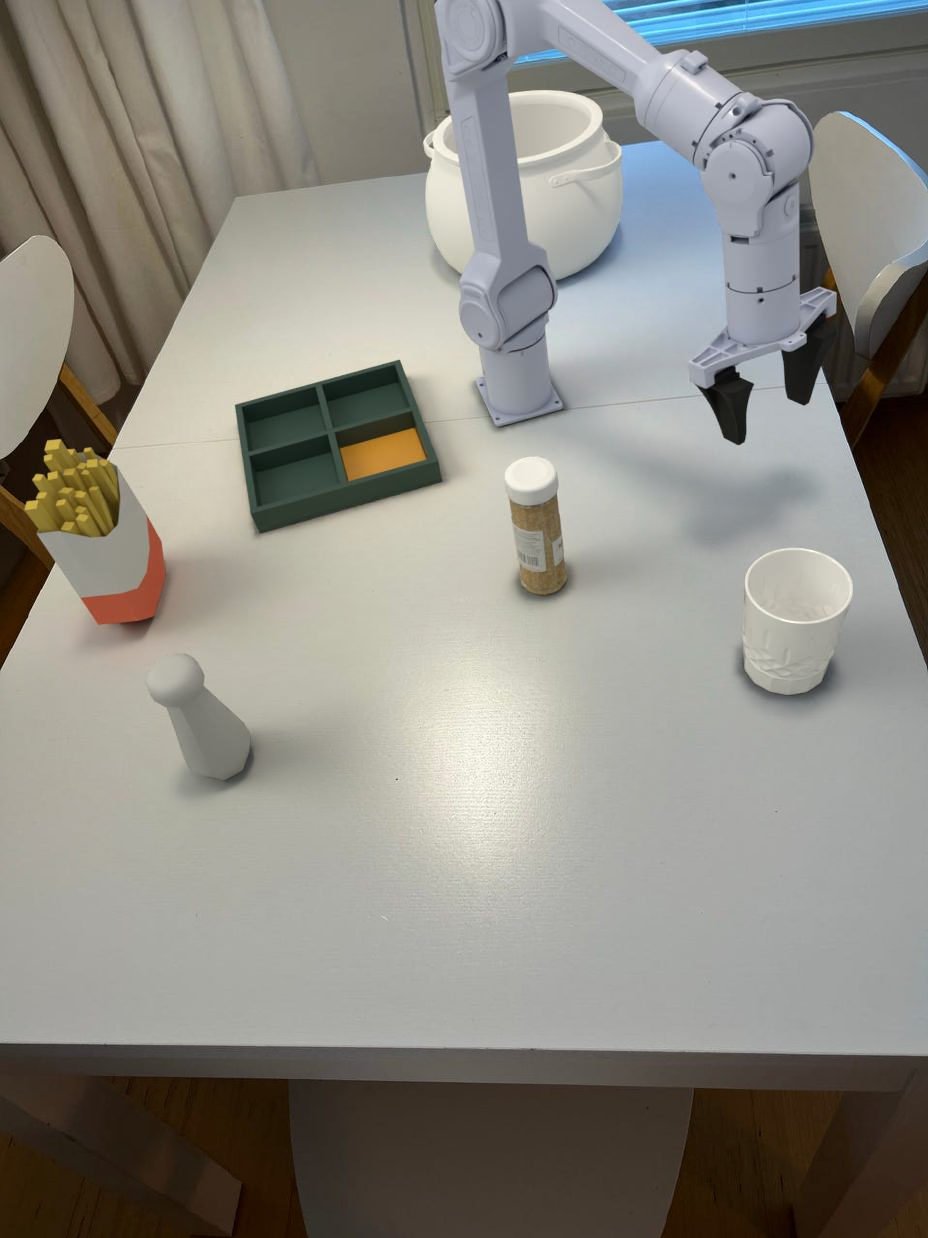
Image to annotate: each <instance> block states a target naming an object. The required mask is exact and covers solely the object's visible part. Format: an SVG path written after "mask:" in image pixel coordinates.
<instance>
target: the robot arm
mask: <svg viewBox="0 0 928 1238" xmlns="http://www.w3.org/2000/svg"><path fill="white" fill-rule="evenodd" d="M433 5H434V6H433V8H434V15H435V20H436V25H437V30H438V37H439V41H440V42H439V43H440V47H441V52H440V53H441V56H440V59H441V66H442V73H443V79H444V84H445V90H446V97H447V101H448V105H449V106H448V107H449V112H450V115H451V119H452V124H453V130H454V135H455V141H456V147H457V152H458V158H459V164H460V169H461V175H462V180H463V186H464V192H465V197H466V203H467V208H468V214H469V220H470V225H471V231H472V237H473V242H474V248H475V250H474V253H473V255H472V257H471V259H470V261H469V262H468V264H467V266H466V268H465V270H464V272H463V274H460V277H459V280H458V285H459V291H460V300H459V305H458V316H459V321H460V324H461V326H462V329H463V331H464V332H465V334H466V336H467V337H468V338H469V339H470V340H471V342H473V343H474V344H475V345H477V346H478V351H479V358H480V365H481V370H482V377H478V378H476V379H475V385H476V387H477V389H478V391H479V394H480V396H481V398H482V400H483V402H484V404H485V406H486V408H487V411H488V412H489V415H490V417H491V419H492V421H493V423H494V426H496V427H504V426H508V425H510V424H513V423H517V422H521V421H524V420H528V419H531V418H535V417H538V416H541V415H546V414H548V413H553V412H556V411H560V410H562V409H563V408H564V404H563V402H562V400H561V399H560V396H559V394H558V393H557V392H556V389H555V388H554V385H553V384H552V382H551V376H550V366H549V355H548V343H547V333H546V325H547V324H548V323H549V322H550V314H549V311H551V310H552V309H553V308H554V307H555V306H556V304H557V302H558V297H559V289H558V285H557V280H555V278H554V276H553V274H552V272H551V270H550V268H549V264H548V260H547V252H546V250H545V249H543V248H542V247H541V246H539V245H537V244H535V243H533V242H531V241H528V236H527V228H526V221H525V213H524V206H523V198H522V191H521V183H520V176H519V169H518V161H517V154H516V146H515V139H514V131H513V124H512V116H511V109H510V101H509V88H508V80H507V75H508V73H509V71H510V70H511V68H512V67H513V66H514V64H515V63H516V62H517V61H518V60H519V58H520V57H523V56H529V55H534V54H537V53H542V52H546V51H552V50H556V51H558V52H560V53H561V54H563V55H564V56H566V57H567V58H569V59H571V60H573V61H574V62H576V63H577V64H579V65H581V66H582V67H584V68H585V69H586V70H588V71H590V72H592V73H593V74H595V76H598V77H599V78H601V79H602V80H605V81H606V82H607V83H609V84H610V85H612V86H613V87H615V88H616V89H618V90H620V91H622V92H623V93H625V94H626V95H628V96H629V97H631V98H632V99H633V101H634V102H633V103H634V109H635V110H634V111H635V116H636V120H637V122H638V124H639V125H640V126H642V127H643V128H644V129H645V130H646V131H648V132H650V134H652V135H654V136H655V137H656V138H657V139H659V140H660V141H661V142H662V143H664V144H665V145H666V146H668V147H669V148H670V149H672V150H673V151H674V152H676V153H677V154H678V155H680V156H681V157H682V158H683V159H685V160H686V161H688V162H689V164H691V165H693V166H694V167H695V168H696V169H698V170H699V171H700V173H699V175H700V180H701V184H702V188H703V190H704V192H705V194H706V196H707V197H708V199H709V200H710V203H712V204H713V206H714V208H715V212H716V221H717V227H719V228H720V231H721V240H722V241H721V242H722V243H721V244H722V258H723V270H724V272H723V273H724V274H723V275H724V290H725V292H724V293H725V294H724V295H725V308H726V326H725V327H724V328H723V329H722V330H721V332H718V335H716V337H714V338H713V340H711V342H710V343H709V344H708V345H707V346H706V347H705V348H704V349H703V350H702V351H701V352H700V353H699V354H697V355H696V356H695V357H693V358H691V359H690V360H688V362H687V365H688V372H689V373H688V375H689V382H691V383H692V384H694V385H695V386H696V387H697V389H698V390H699V391H700V392H701V394H702V395H703V397H704V398H705V400H706V401H707V403H708V404H709V406H710V408H711V410H712V412H713V414H714V415H715V418H716V420H717V423H718V426H719V428H720V431H721V434H722V437H723V439H725V440H727V441H729V442H730V443H732V444H734V445H736V446H741V445H743V444H744V443H745V442H746V439H747V431H748V430H747V429H748V428H747V415H748V414H747V413H748V404H749V400H750V396H751V393H752V391H753V388H754V386H755V383H753V382H751V381H749V380H747V379H745V378H742V377H741V373H740V371H737V366H738V365H740V364H741V363H744V362H748V361H750V360H753V359H756V358H759V357H762V356H765V355H768V354H771V353H775V352H778V351H780V352H781V358H782V363H783V378H784V379H783V380H784V389H785V394H786V398H787V399H788V400H789V401H792V402H794V403H796V404H799V405H801V406H803V407H805V406H807V405H808V404H810V401H811V399H812V395H813V392H814V389H815V385H816V382H817V378H818V376H819V373H820V371H821V367H822V365H823V363H824V361H825V360H826V359H825V358H826V357H827V355H828V353H829V351H830V350H831V348H832V347H833V345H834V344H835V342H836V341H837V340H838V338H839V326H838V324H836V323H834V322H831V321H829V320H827V318H830V317H832V316H834V315H835V314H837V298H838V297H837V295H838V294H837V292H836V291H834V290H831V289H828V288H825V287H821V286H817V287H815V288H814V289H811V290H810V291H807V292H805V293H802V294H801V292H800V291H801V290H800V289H801V288H800V286H801V285H800V276H801V275H800V267H801V266H800V181H799V180H797V179H798V178H799V177H800V176H801V175H802V174H803V173H804V172H805V171H806V169H808V167H809V165H810V164H811V162H812V160H813V156H814V154H815V147H816V140H815V132H814V130H813V127H812V124H811V122H810V120H809V119H808V117H807V115H806V114H805V113H804V112H803V111H802V110H801V109H800V108H799V107H798V106H797V104H795V102H793V100H789V99H785V98H773V99H768V100H765V99H762V98H761V97H759V96H755V95H754V94H752V93H751V92H749V91H746V92H745V91H743V89H741V88H740V87H739V86H737V85H735V84H734V83H732V81H730V80H728V79H727V78H726V77H725V76H723V75H722V74H721V73H719V72H718V71H716V70H715V69H713V68H712V67H710V66H709V65H708V63H709V58H708V57H707V56H706V55H704V54H703V53H702V52H700V51H699V50H697V49H695V50H693V51H692V52H690V51H689V50H687V49H685V48H682V49H676V50H674V51H671V52H669V53H661V52H660V51H659V50H657V48H655V47H654V46H653V45H652V44H651V43H650V42H649V41H647V40H646V39H645V38H644V37H643V36H642V35H640V33H638V31H636V30H635V29H634V28H633V27H631V26H630V25H629V24H628V23H627V22H626V21H625V20H624V19H623V18H621V17H620V16H619V15H618V14H617V13H615V12H614V11H613V10H612V9H611V8H610V7H609V6H608V5H606V4H605V3H604V2H603V1H602V0H436V2H435V3H434V4H433Z"/></svg>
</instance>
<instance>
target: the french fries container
mask: <svg viewBox="0 0 928 1238" xmlns="http://www.w3.org/2000/svg"><path fill="white" fill-rule="evenodd" d="M43 451H44V452H45V455H44V456H43V463H44V464H45V465H46V466H47V468H48V470H49V471H50V472H48V473H47V477H46V476H45V474H41V473H36V474H35V475H34V477H33V478H32V482H33V483H34V485H35V486H36V488H37V490H38V491H39V492H38V493H37V495H36V497H35V499H36V500H26V503H25V506H24V512H25V513H26V514H27V516H28V518H30V520H31V521H32V522H33V524H34V525H35V526H36V528H37V530H36V535H37V537H38V538H39V540H40V541H41V543H42V545H44V548H45V549H46V550H47V551H48V553H49V554H50V556H51V558H52V559H53V561H54V562H55V563H56V565H57V566H58V567H59V569H60V571H61V572H62V573H63V575H64V576H65V578H66V579H67V581H68V583H69V584H70V585H71V587H72V588H73V590H74V591H75V592H76V594H77V596H78V597H79V598H80V600H81V602H82V603H83V604H84V606H85V607H86V609H87V610H88V612H89V614H91V616H92V617H93V619H94V620H95V622H96V624H97V625H98V626H101V625H112V624H120V623H121V624H122V623H129V622H139V621H142V620H146V619H149V618H153V617H155V616H156V613H157V610H158V606H159V602H160V598H161V595H162V591H163V588H164V583H165V581H166V571H165V569H166V568H165V560H164V552H163V551H164V549H163V543H162V540H161V538H160V536H159V534H158V532H157V531H156V528H155V527H154V525H153V523H152V521H151V520H150V518H149V515H148V513H146V511H145V509H144V508H143V506H142V504H141V503H140V501H139V500H138V497H137V496H136V494H135V493H134V491H133V490H132V489H131V487H130V485H129V483H128V482H127V480H126V478H125V477H124V475H123V473H122V471H121V470H120V468H119V467H118V465H116V464H114V463H112V462H111V460H110V459H105V458H103V457H102V456H99V455H98V454H96V453H95V452H94V449H93V448H92V447H84V449H83V452H82V451H81V452H77V450H76V449H75V448H67V446H66V444H64V442H63V440H62V439H61V438H60V439H59V438H58V439H49V440H48V439H47V441H46V444H45V447H44V450H43Z"/></svg>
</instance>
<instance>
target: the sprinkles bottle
mask: <svg viewBox="0 0 928 1238" xmlns="http://www.w3.org/2000/svg"><path fill="white" fill-rule="evenodd" d="M503 478H504V479H503V480H504V486H505V487H504V488H505V493H506V496H507V498H508V501H509V506H510V514H511V518H510V519H511V525H512V531H513V532H512V533H513V539H514V546H515V550H516V555H517V556H516V557H517V561H518V562H519V570H520V575H519V579H520V584H521V586H522V587H523V588H524V589H525V590H526V591H527V592H530V593H531V594H535V595H540V596H545V595H550V594H554V593H556V592H557V591H559V590H561V589H562V587H564V585H565V583H566V582H567V578H568V572H567V568H566V563H565V549H564V540H563V530H562V521H561V514H560V511H559V510H560V509H559V501H558V499H559V498H558V491H559V485H560V483H559V475H558V469H557V467H556V465H555V464H554V463H553V462H552V460H549V459H547V458H545V457H542V456H526V457H522V458H519V459H517V460H515V461H514V462H512V463H511V464H509V466H508V467H507V468H506V470H505V472H504V476H503Z"/></svg>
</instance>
